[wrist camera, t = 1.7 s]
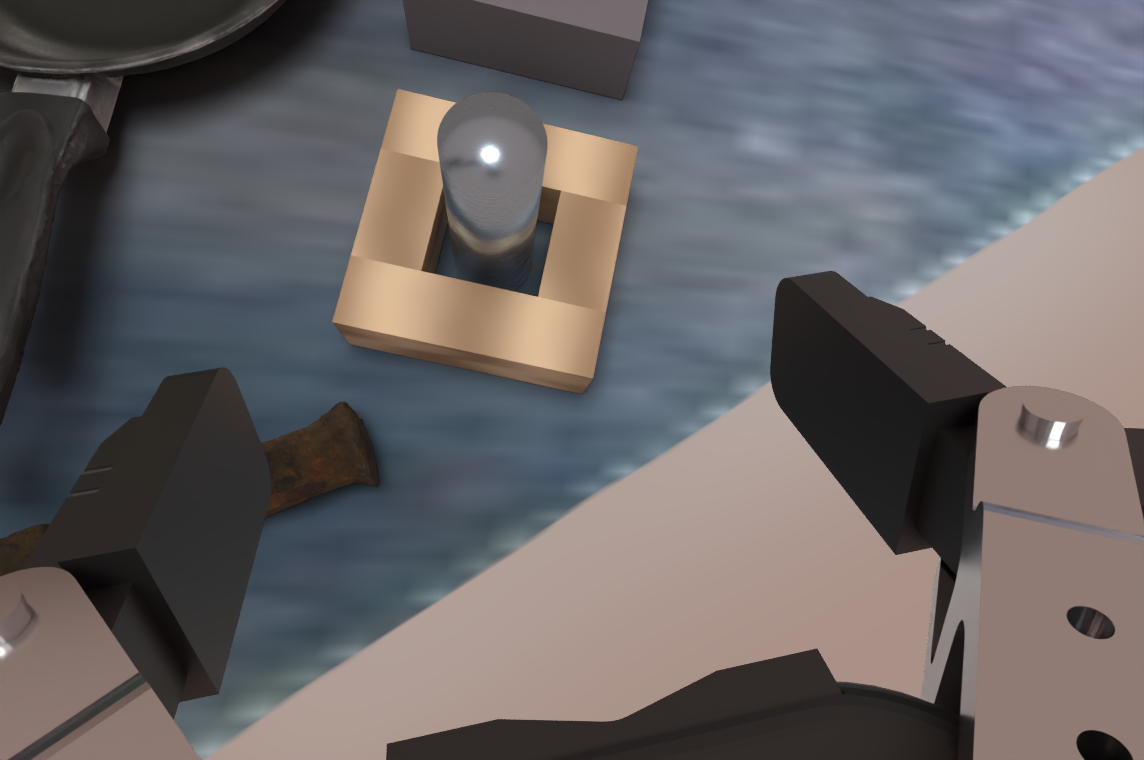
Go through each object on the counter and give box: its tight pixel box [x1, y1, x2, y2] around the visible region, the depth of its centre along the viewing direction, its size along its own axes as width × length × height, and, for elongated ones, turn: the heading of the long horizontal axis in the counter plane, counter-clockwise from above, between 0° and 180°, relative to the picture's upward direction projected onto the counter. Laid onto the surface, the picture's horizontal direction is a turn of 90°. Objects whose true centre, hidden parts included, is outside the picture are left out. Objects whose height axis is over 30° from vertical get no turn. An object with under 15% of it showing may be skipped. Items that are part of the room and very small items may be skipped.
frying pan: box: [0, 0, 286, 425], centre depth 34 cm, size 44×25×7 cm, turn 177°
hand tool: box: [0, 402, 380, 577], centre depth 32 cm, size 19×4×5 cm, turn 110°
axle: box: [437, 92, 548, 291], centre depth 32 cm, size 4×4×12 cm
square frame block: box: [332, 89, 638, 394], centre depth 36 cm, size 12×12×4 cm
